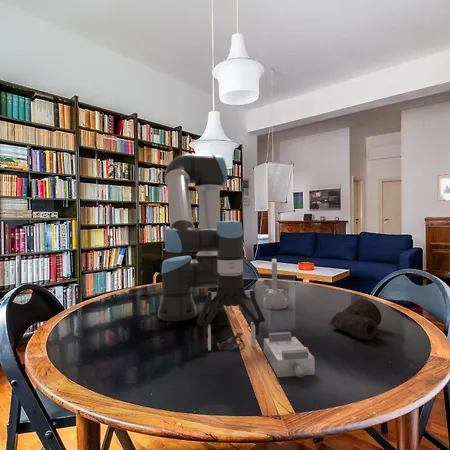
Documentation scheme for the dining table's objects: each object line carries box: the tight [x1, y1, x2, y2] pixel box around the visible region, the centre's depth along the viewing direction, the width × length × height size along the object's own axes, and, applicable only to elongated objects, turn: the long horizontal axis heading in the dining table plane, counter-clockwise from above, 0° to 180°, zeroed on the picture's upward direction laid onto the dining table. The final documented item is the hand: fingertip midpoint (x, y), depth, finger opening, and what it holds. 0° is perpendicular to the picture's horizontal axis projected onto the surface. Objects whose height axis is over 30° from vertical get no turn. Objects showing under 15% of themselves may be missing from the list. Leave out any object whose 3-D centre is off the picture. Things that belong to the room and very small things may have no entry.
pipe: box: [329, 298, 382, 341], centre depth 103 cm, size 10×15×15 cm
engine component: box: [262, 258, 288, 310], centre depth 137 cm, size 11×20×10 cm
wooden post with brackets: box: [216, 332, 246, 351], centre depth 91 cm, size 2×8×4 cm, turn 98°
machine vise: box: [263, 331, 316, 379], centre depth 80 cm, size 10×17×6 cm, turn 6°
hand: (231, 347), depth 91 cm, fingers open, 12 cm apart
